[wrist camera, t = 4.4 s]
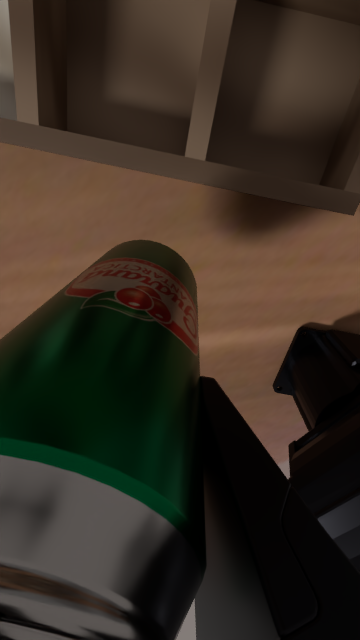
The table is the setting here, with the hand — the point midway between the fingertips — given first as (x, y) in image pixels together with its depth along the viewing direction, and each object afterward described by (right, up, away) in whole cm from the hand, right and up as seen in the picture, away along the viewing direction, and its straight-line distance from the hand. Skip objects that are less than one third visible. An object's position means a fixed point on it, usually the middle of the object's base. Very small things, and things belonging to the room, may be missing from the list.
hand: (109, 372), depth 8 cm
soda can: (0, +3, +6) cm, 7 cm away
